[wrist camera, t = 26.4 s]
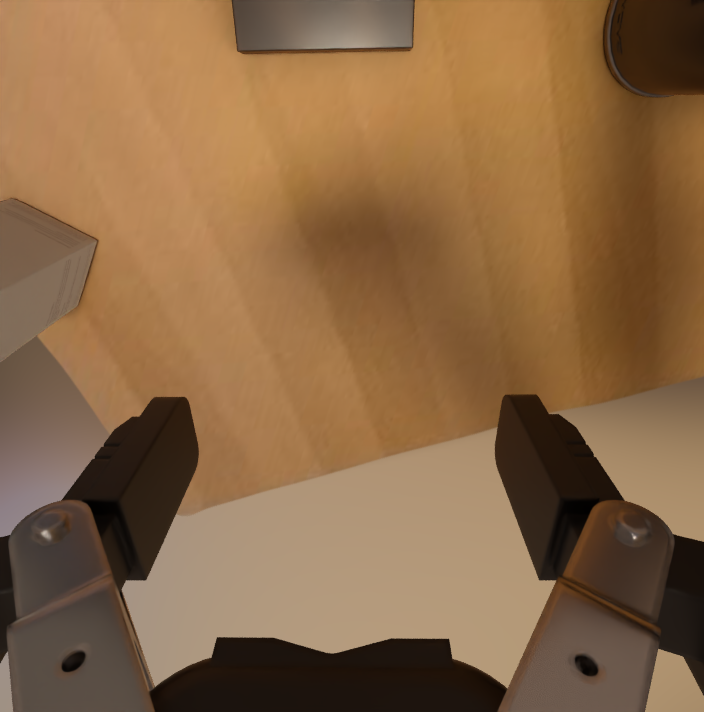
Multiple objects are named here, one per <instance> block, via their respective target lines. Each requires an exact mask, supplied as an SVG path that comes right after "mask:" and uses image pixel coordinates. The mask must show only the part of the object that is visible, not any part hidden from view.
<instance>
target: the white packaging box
mask: <svg viewBox="0 0 704 712" xmlns="http://www.w3.org/2000/svg"><path fill="white" fill-rule="evenodd" d="M96 243H97V240H95V239H93V238H92V237H90V236H88V235H86V234H84V233H82V232H80V231H78V230H76V229H74V228H72V227H70V226H68V225H66V224H64V223H62V222H60V221H58V220H56V219H54V218H52V217H50V216H48V215H46V214H44V213H42V212H40V211H38V210H36V209H34V208H32V207H30V206H28V205H26V204H24V203H22V202H20V201H17V200H15V199H8V200H4V201H1V202H0V362H1V361H2V360H4V359H5V358H7V357H8V356H9V355H11V354H12V353H13V352H15V351H16V350H18V349H19V348H20V347H21V346H23V345H24V344H26V343H27V342H28V341H30V340H31V339H33V338H34V337H35V336H37V335H38V334H39V333H41V332H42V331H43V330H45V329H46V328H48V327H49V326H50V325H52V324H53V323H54V322H56V321H57V320H59V319H60V318H61V317H63V316H64V315H66V314H67V313H68V312H70V311H71V310H72V309H74V308H75V307H77V306H78V303H79V300H80V297H81V294H82V290H83V287H84V284H85V280H86V277H87V274H88V270H89V267H90V263H91V260H92V257H93V253H94V250H95V246H96Z"/></svg>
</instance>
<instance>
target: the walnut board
mask: <svg viewBox="0 0 704 712" xmlns="http://www.w3.org/2000/svg"><path fill="white" fill-rule="evenodd" d="M414 3H415V0H232V7H233V16H234V25H235V34H236V43H237V51H238V52H241V53H243V54H264V53H314V52H364V51H409V50H411V49H412V48H413V29H414Z"/></svg>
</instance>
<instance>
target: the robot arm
mask: <svg viewBox="0 0 704 712" xmlns="http://www.w3.org/2000/svg"><path fill="white" fill-rule="evenodd" d="M604 48H605V55H606V59H607V62H608V65H609V68H610V70H611V72H612V74H613V75H614V77H615V78H616V79H617V81H618V82H619V83H620V84H621V85H622V86H623V87H625V88H626V89H627V90H629V91H631V92H633V93H635V94H637V95H641V96H646V97H668V96H674V95H704V0H612V1H611V4H610V7H609V10H608V13H607V17H606V22H605V29H604ZM198 456H199V449H198V442H197V437H196V433H195V428H194V423H193V419H192V414H191V409H190V405H189V402H188V400H187V398H185V397H154V398H153V399H152V400H151V401H150V403H149V404H148V406H147V407H146V408H145V410H144V411H143V413H142V414H141V415H140V417H131V418H130V419H129V420H127V421H126V422H124V423H123V424H122V425H120V426H119V427H117V428H116V429H115V430H114V431H113V432H112V434H111V435H110V436H109V438H108V439H107V440H106V442H105V443H104V447H101V448H100V450H99V451H98V452H97V454H96V455H95V459H92V460H91V462H90V463H89V464H88V466H87V467H86V468H85V470H84V471H83V472H82V474H81V475H80V476H79V478H78V479H77V480H76V482H75V483H74V485H73V486H72V487H71V488H70V490H69V491H68V492H67V494H66V495H65V496H64V498H63V499H62V500H61V501H58V502H54V503H51V504H48V505H46V506H43V507H41V508H39V509H37V510H35V511H34V512H32V513H31V514H30V515H28V516H26V517H25V518H24V519H23V520H21V522H20V523H19V524H18V525H17V526H16V527H15V528H14V530H13V531H12V533H11V535H8V536H5V537H0V663H1V661H2V659H3V657H4V656H5V654H6V653H7V651H8V656H9V667H10V679H11V691H12V702H13V712H645V708H646V703H647V699H648V694H649V689H650V685H651V679H652V675H653V670H654V666H655V661H656V656H657V652H658V649H661V650H664V651H667V652H671V653H674V654H677V655H680V656H683V657H684V659H685V661H686V663H687V664H688V666H689V668H690V670H691V672H692V674H693V676H694V678H695V680H696V682H697V684H698V686H699V687H700V689H701V691H702V693H703V695H704V542H702V541H698V540H694V539H689V538H685V537H681V536H677V535H674V534H672V532H671V530H670V529H669V527H668V526H667V525H666V524H665V523H664V521H663V520H661V519H660V518H659V517H658V516H657V515H655V514H654V513H652V512H651V511H649V510H647V509H645V508H643V507H641V506H639V505H636V504H633V503H631V502H627V501H625V500H624V499H623V497H622V496H621V495H620V493H619V491H618V490H617V488H616V487H615V485H614V484H613V482H612V481H611V479H610V478H609V476H608V475H607V473H606V472H605V470H604V469H603V467H602V466H601V464H600V463H599V461H598V460H597V458H596V457H594V454H593V452H592V451H591V449H590V448H589V446H588V445H586V442H585V440H584V439H583V437H582V436H581V434H580V433H579V431H578V430H577V428H576V427H575V426H574V425H572V424H571V423H570V422H568V421H567V420H566V419H564V418H563V417H562V416H560V415H559V414H549V413H548V412H547V410H546V408H545V407H544V405H543V404H542V402H541V400H540V399H539V397H538V396H537V395H505V396H504V397H503V400H502V404H501V410H500V417H499V423H498V429H497V436H496V441H495V459H496V465H497V468H498V471H499V474H500V477H501V479H502V482H503V485H504V487H505V490H506V493H507V495H508V498H509V500H510V503H511V506H512V509H513V511H514V514H515V517H516V519H517V522H518V525H519V527H520V530H521V533H522V535H523V538H524V541H525V544H526V546H527V549H528V552H529V554H530V557H531V560H532V562H533V565H534V567H535V570H536V573H537V576H538V578H539V580H557V581H556V583H555V585H554V587H553V589H552V592H551V594H550V596H549V598H548V601H547V603H546V605H545V607H544V609H543V612H542V614H541V616H540V618H539V620H538V623H537V625H536V627H535V629H534V631H533V634H532V636H531V638H530V641H529V643H528V645H527V647H526V649H525V652H524V654H523V656H522V658H521V660H520V663H519V665H518V667H517V670H516V671H515V674H514V676H513V678H512V680H511V683H510V685H509V687H508V689H507V688H506V687H505V686H504V685H502V684H501V683H500V682H498V681H497V680H495V679H494V678H493V677H491V676H490V675H488V674H486V673H484V672H483V671H481V670H479V669H477V668H475V667H473V666H471V665H468V664H466V663H464V662H461V661H458V660H454V659H452V654H451V648H450V642H449V639H388V640H384V641H381V642H377V643H373V644H369V645H365V646H362V647H358V648H354V649H350V650H347V651H343V652H339V653H334V654H330V653H325V652H321V651H318V650H314V649H311V648H306V647H304V646H300V645H297V644H293V643H290V642H286V641H283V640H279V639H276V638H227V637H226V638H225V637H223V638H221V637H219V638H218V637H217V639H216V643H215V647H214V651H213V655H212V658H209V659H205V660H202V661H200V662H197V663H195V664H192V665H190V666H188V667H186V668H184V669H182V670H180V671H178V672H176V673H174V674H173V675H171V676H170V677H169V678H167V679H165V680H164V681H162V682H161V683H160V684H158V685H157V686H156V687H155V686H154V683H153V680H152V677H151V675H150V672H149V669H148V666H147V663H146V660H145V657H144V654H143V651H142V648H141V645H140V642H139V639H138V636H137V633H136V630H135V627H134V624H133V621H132V619H131V615H130V612H129V609H128V606H127V604H126V601H125V598H124V595H123V592H122V590H121V589H122V587H123V585H124V583H125V581H126V580H146V579H147V577H148V575H149V573H150V571H151V568H152V566H153V564H154V561H155V559H156V557H157V555H158V553H159V550H160V548H161V546H162V544H163V542H164V539H165V537H166V535H167V533H168V530H169V528H170V526H171V524H172V522H173V519H174V517H175V515H176V513H177V510H178V508H179V506H180V504H181V501H182V499H183V497H184V495H185V493H186V490H187V488H188V486H189V484H190V481H191V479H192V477H193V475H194V473H195V470H196V467H197V463H198Z"/></svg>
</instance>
